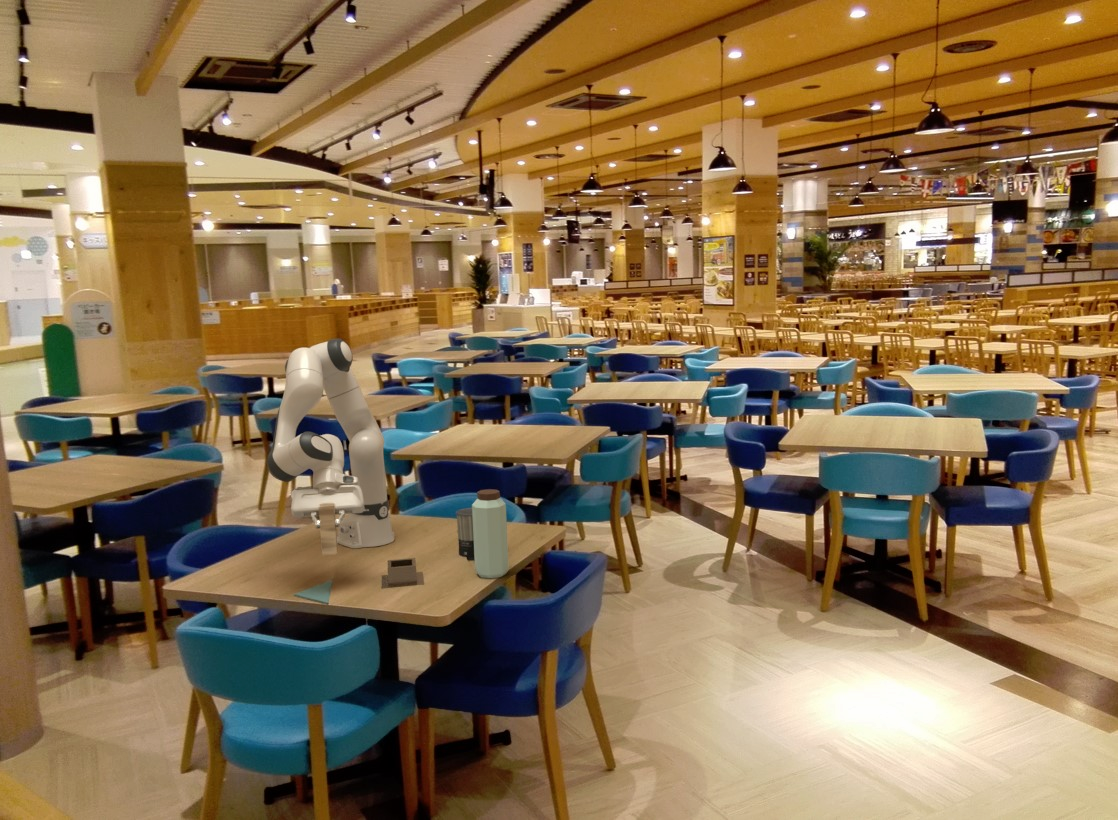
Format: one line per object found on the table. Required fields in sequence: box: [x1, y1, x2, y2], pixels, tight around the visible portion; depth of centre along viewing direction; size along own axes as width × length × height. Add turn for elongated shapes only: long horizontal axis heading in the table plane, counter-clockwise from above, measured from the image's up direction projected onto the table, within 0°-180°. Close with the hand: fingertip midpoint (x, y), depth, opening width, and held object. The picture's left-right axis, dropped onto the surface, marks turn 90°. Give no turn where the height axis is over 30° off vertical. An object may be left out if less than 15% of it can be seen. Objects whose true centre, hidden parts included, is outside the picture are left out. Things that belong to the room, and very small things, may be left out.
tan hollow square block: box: [380, 557, 425, 589], centre depth 252 cm, size 12×12×6 cm
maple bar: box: [318, 503, 339, 557], centre depth 244 cm, size 4×4×14 cm
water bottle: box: [471, 488, 510, 579], centre depth 257 cm, size 10×10×25 cm
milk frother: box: [455, 507, 475, 561], centre depth 279 cm, size 14×16×15 cm
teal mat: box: [293, 579, 334, 605], centre depth 247 cm, size 16×16×1 cm
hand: (327, 526), depth 244 cm, fingers closed on maple bar, 4 cm apart
